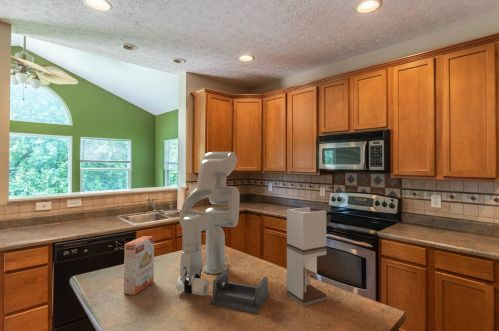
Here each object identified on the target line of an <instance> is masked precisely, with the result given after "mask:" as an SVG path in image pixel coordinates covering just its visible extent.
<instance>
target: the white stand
mask: <svg viewBox="0 0 499 331" xmlns="http://www.w3.org/2000/svg"><path fill="white" fill-rule="evenodd" d="M326 255H327V210H318V211H311V207H309V206H308V207H298V208H297V207H296V208H288V209H286V295H287V296H289V297H290V298H292V299H293V301H295V302H297V303H298V304H300V305H301V306H302V307H307V306H310V305H312V304H315V303H319V302H323V301H325V300H327V294H326V293H325V292H324V291H321V290H320V289H318V288H317V287H315V286H313V285H311V276H314V275H317V274H318V259H317V258H318V257H321V256H326Z"/></svg>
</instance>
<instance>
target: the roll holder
mask: <svg viewBox="0 0 499 331" xmlns="http://www.w3.org/2000/svg"><path fill="white" fill-rule="evenodd" d="M268 283H269V278H268V276H263V277H262V279H261V280H260V281H259V283H258V284H257V285H256V286H255V285H250V284H243V283H238V282H232V281H229V270H227V271H224V272H223V273H220V274H219V275H218V276H217V277H216V278H215V279H213V280H212V298H211V299H210V300H209V305H210V306H214V307H215V306H216V307H222V308H225V309H229V310H236V311H240V312H245V313H250V314H254V315H257V314H258V313H259V312H260V310H261V309H262V307H263V305H264V303H265V302H266V301H267V300H268V298H269V297H270V294H271V293H270V292H271V291H270V290H269V286H268V285H269V284H268Z"/></svg>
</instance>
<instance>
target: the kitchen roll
mask: <svg viewBox="0 0 499 331" xmlns="http://www.w3.org/2000/svg"><path fill="white" fill-rule="evenodd" d="M193 277H194V276H192V279H191V284H192V294H191V295H198V296H203V297H205V296H206V295H207V294H208V293H209V289H210V281H209V280H208V279H204V278H201V279H199V278H193ZM180 278H181V275H180V276H179V277H178V278H177V280H176V283H175V289H176V291H178V292H182V293H184V284H183V282H182V281H181V280H180ZM186 280H189V278H187V279H186Z"/></svg>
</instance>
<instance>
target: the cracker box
mask: <svg viewBox="0 0 499 331" xmlns="http://www.w3.org/2000/svg"><path fill="white" fill-rule="evenodd" d="M123 247H124V251H123V252H124V253H123V254H124V255H123V256H124V259H123V294H124V295H130V296H136V295H138V294H139V293H141V292H142V291H143V290H145V288H147V287H149V285H151V284H152V283H153V282H154V278H155V276H154V270H155V266H154V265H155V236H151V235H149V236H147V235H143V236H140V237H139V238H135V239H133V240H131V241H128V242H126V243H124V246H123Z"/></svg>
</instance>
